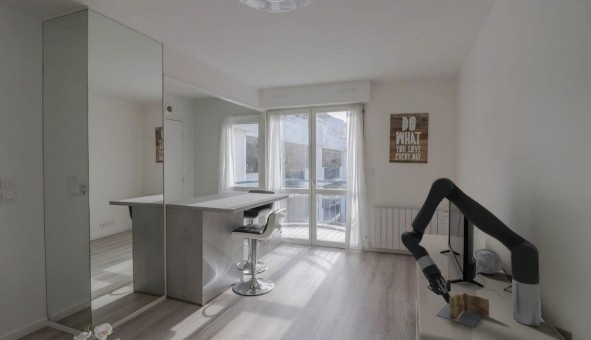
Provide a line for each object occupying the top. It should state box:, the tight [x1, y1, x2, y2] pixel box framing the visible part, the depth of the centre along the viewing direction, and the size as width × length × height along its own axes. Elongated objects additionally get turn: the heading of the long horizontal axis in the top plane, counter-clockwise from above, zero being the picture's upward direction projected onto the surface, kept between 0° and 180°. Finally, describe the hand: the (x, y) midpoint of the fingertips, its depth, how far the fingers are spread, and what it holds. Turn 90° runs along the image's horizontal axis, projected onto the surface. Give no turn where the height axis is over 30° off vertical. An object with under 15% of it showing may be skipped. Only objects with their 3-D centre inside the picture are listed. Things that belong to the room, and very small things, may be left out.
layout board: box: [436, 302, 483, 328], centre depth 135 cm, size 15×17×1 cm
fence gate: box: [449, 291, 465, 318], centre depth 134 cm, size 11×2×9 cm, turn 126°
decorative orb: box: [473, 248, 502, 275], centre depth 181 cm, size 15×14×15 cm
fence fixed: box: [461, 291, 490, 319], centre depth 135 cm, size 11×2×8 cm, turn 46°
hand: (450, 302), depth 134 cm, fingers closed
